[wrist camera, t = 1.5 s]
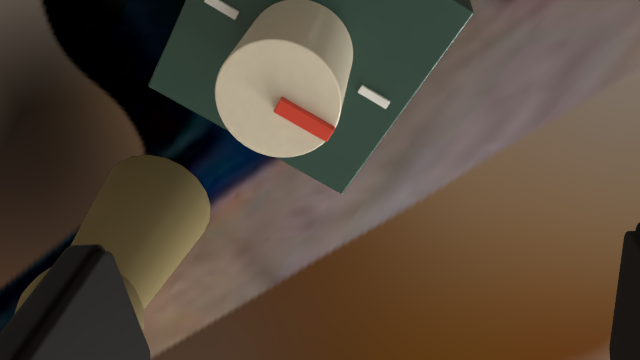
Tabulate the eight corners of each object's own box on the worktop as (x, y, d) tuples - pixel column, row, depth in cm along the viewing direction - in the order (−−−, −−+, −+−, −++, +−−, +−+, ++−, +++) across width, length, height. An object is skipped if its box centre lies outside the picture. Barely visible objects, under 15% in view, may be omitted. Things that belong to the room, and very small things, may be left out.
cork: (204, 157, 32) (119, 301, 23) (216, 250, 35) (145, 409, 26) (94, 152, 33) (-33, 288, 23) (115, 243, 36) (10, 396, 26)
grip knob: (229, 68, 26) (192, 122, 21) (277, -24, 24) (246, 15, 19) (319, 119, 27) (301, 182, 22) (373, 35, 24) (365, 86, 20)
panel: (170, 62, 30) (145, 87, 27) (262, -140, 24) (243, -134, 22) (348, 163, 31) (342, 197, 28) (468, -7, 26) (475, 13, 23)
